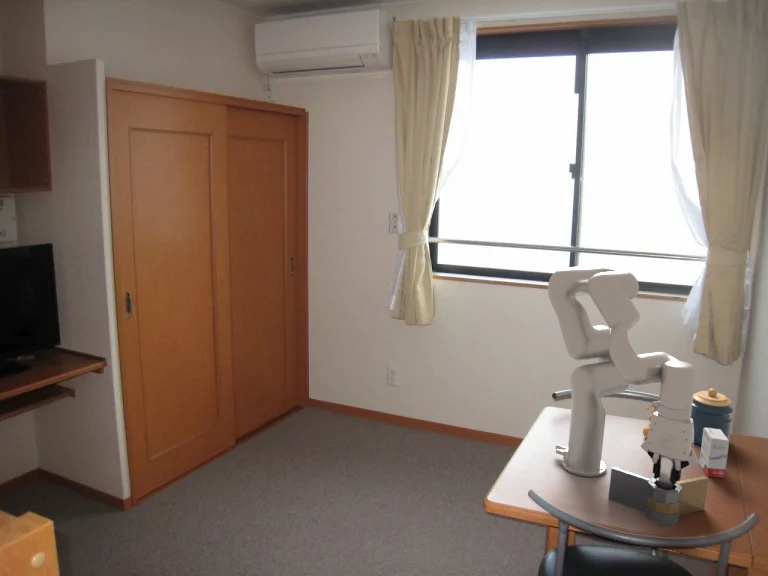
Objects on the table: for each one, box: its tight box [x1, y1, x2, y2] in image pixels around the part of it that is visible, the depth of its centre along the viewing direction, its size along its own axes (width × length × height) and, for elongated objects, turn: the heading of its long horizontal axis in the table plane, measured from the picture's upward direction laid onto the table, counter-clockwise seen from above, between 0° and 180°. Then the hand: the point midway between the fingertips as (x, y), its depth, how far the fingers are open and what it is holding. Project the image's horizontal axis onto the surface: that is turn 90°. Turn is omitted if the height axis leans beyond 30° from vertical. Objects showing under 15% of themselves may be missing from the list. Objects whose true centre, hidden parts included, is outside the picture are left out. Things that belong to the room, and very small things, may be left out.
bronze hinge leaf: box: [647, 475, 709, 516], centre depth 163 cm, size 17×7×9 cm, turn 109°
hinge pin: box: [657, 455, 675, 490], centre depth 159 cm, size 4×4×12 cm
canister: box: [691, 387, 734, 446], centre depth 206 cm, size 13×13×18 cm
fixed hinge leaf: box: [608, 466, 682, 527], centre depth 164 cm, size 17×7×9 cm, turn 50°
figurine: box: [642, 404, 657, 439], centre depth 207 cm, size 8×6×12 cm
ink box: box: [698, 428, 730, 479], centre depth 186 cm, size 9×5×12 cm, turn 168°
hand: (665, 478), depth 160 cm, fingers closed on hinge pin, 3 cm apart
